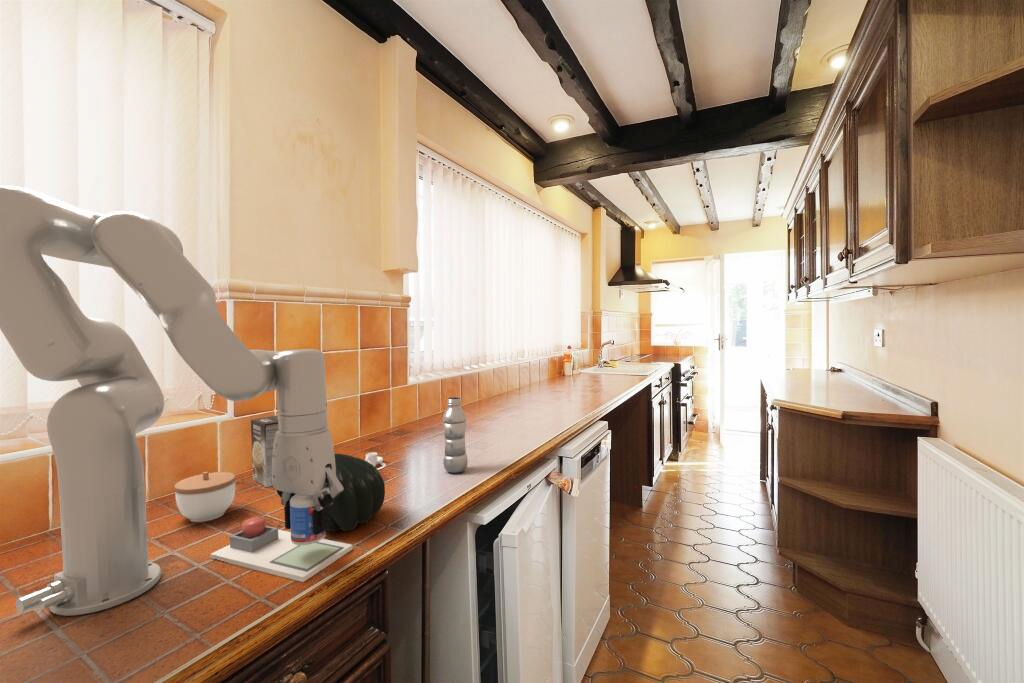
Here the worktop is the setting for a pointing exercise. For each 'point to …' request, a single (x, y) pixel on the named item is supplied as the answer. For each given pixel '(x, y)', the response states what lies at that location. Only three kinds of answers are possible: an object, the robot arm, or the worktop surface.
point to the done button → (253, 526)
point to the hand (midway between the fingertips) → (307, 527)
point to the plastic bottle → (454, 436)
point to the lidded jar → (205, 495)
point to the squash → (355, 493)
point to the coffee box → (263, 448)
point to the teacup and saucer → (374, 459)
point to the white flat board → (281, 554)
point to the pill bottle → (303, 520)
